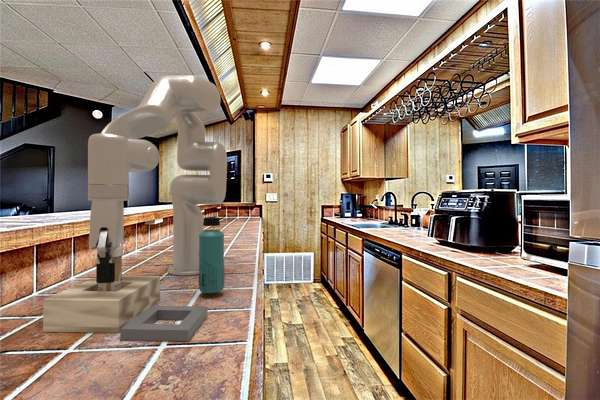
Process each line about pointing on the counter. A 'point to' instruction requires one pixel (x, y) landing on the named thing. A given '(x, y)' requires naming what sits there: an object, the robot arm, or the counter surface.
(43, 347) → the counter surface
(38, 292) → the counter surface
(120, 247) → the sprinkles bottle
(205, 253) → the beverage bottle
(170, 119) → the robot arm
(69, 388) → the counter surface
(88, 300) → the birch dock block
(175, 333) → the charcoal collar
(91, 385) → the counter surface
